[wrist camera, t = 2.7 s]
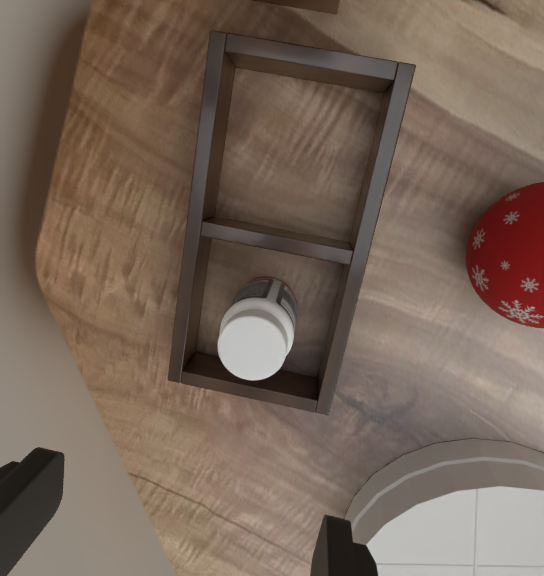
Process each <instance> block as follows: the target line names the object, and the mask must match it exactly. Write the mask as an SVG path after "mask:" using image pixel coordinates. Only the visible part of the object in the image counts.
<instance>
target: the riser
mask: <svg viewBox="0 0 544 576" xmlns="http://www.w3.org/2000/svg"><path fill="white" fill-rule="evenodd" d="M255 1H261V2H267V3H273V4H279V5H285V6H291V7H297V8H303V9H309V10H315V11H321V12H327V13H333V14H337V13H338V9H339V4H340V0H255Z"/></svg>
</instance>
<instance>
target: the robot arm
mask: <svg viewBox="0 0 544 576" xmlns="http://www.w3.org/2000/svg"><path fill="white" fill-rule="evenodd" d="M63 478H64V454H63V453H61V452H57V451H53V450H48V449H44V448H40V447H38V448H35V449H34V450H33V451H32V452H31V453H29V454H28V456H26V457H25V458H24V459H23V460H22V461H21V462H20V463H18V462H14V461H12V462H10V463H8V464H7V465H5V466H3V467H1V468H0V576H7V575H8V574H9V572H10V571H11V570H12V568H13V567H14V566H15V565H16V563H17V562H18V561H19V559H20V558H21V557H22V556H23V554H24V553H25V552H26V550H27V549H28V548H29V547H30V545H31V544H32V543H33V541H34V540H35V539H36V538H37V536H38V535H39V534H40V533H41V531H42V530H43V528H44V527H45V526H46V525H47V523H48V522H49V521H50V520H51V518H52V517H53V516H54V514H55V513H56V511H57V509H58V507H59V505H60V502H61V499H62V494H63ZM310 576H378V571H377V564H376V562H375V560H374V558H373V557H372V555H371V553H370V551H369V549H368V547H367V546H366V545H363V544H359V543H354V542H353V537H352V528H351V522H350V521H349V520H346V519H341V518H337V517H333V516H328V515H324V518H323V521H322V524H321V528H320V532H319V535H318V539H317V543H316V547H315V550H314V554H313V559H312V565H311V575H310Z"/></svg>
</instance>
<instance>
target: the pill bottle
mask: <svg viewBox="0 0 544 576" xmlns="http://www.w3.org/2000/svg"><path fill="white" fill-rule="evenodd" d="M296 316H297V302H296V299H295V296H294V294H293V292H292V291H291V289H290V288H289V287H288V286H287V285H285V284H284V283H283V282H281V281H279V280H277V279H274V278H268V277H264V278H257V279H254V280H252V281H250V282H249V283H247V284H246V285H245V286H244V287H243V288H242V289H241V290H240V292H239V293H238V295H237V296H236V298H235V299H234V301H233V302H232V304H231V305H230V307H229V308H228V310H227V311H226V313H225V315H224V317H223V319H222V322H221V325H220V335H219V339H218V354H219V357H220V359H221V361H222V363H223V365H224V366H225V367H226V368H227V369H228V370H229V371H230V372H231V373H232V374H234V375H235V376H237V377H239V378H242V379H246V380H261V379H265V378H268V377H270V376H271V375H273V374H274V373H276V372H277V371H278V370H279V369H280V367H281V366H282V364H283V362H284V360H285V357H286V356H287V354H288V353H289V351H290V349H291V347H292V344H293V341H294V333H295V324H296Z"/></svg>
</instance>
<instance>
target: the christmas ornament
mask: <svg viewBox="0 0 544 576" xmlns="http://www.w3.org/2000/svg"><path fill="white" fill-rule="evenodd" d="M466 266H467V271H468V275H469V278H470V281H471V283H472V285H473V287H474V289H475V291H476V292H477V294H478V295H479V296H480V298H481V299H482V300H483V301H484V302H485V303H486V304H487V305H488V306H489V307H490V308H491V309H493V310H494V311H495V312H497V313H498V314H500V315H501V316H503V317H505V318H507V319H509V320H511V321H514V322H516V323H519V324H522V325H526V326H531V327H536V328H544V182H541V183H536V184H532V185H528V186H525V187H522V188H520V189H517V190H515V191H513V192H511V193H509V194H507V195H505V196H504V197H502V198H501V199H499V200H498V201H496V202H495V203H494V204H493V205H492V206H490V207H489V208H488V209H487V210H486V211H485V213H484V214H483V215H482V216H481V217H480V219H479V220H478V222H477V223H476V225H475V227H474V228H473V230H472V233H471V235H470V238H469V241H468V245H467V251H466Z"/></svg>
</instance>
